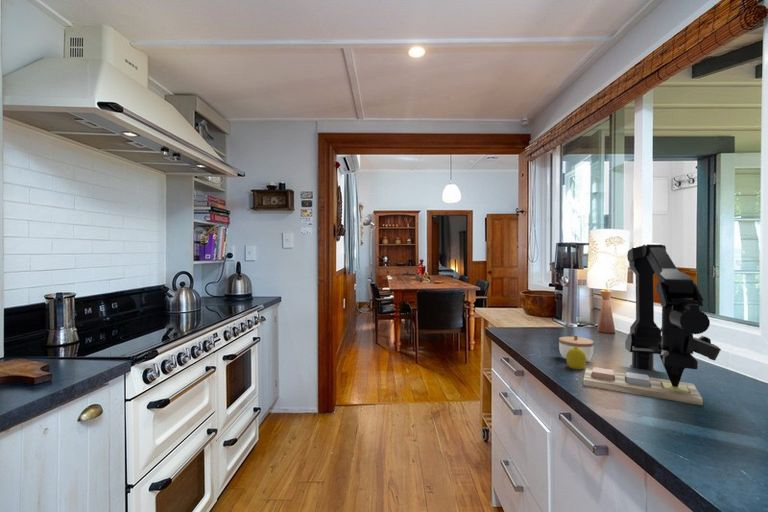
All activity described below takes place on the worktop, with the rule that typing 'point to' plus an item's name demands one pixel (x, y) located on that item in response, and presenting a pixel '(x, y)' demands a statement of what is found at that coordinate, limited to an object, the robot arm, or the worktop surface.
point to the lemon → (576, 358)
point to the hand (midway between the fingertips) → (675, 386)
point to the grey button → (637, 379)
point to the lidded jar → (576, 345)
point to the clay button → (603, 373)
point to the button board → (644, 388)
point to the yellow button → (680, 387)
